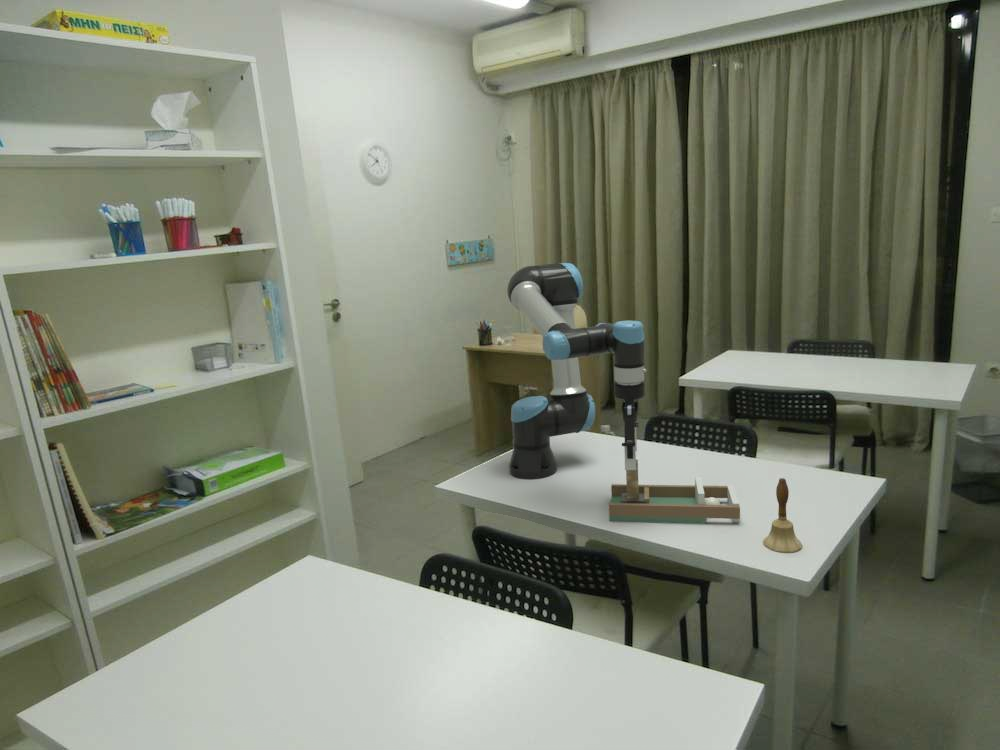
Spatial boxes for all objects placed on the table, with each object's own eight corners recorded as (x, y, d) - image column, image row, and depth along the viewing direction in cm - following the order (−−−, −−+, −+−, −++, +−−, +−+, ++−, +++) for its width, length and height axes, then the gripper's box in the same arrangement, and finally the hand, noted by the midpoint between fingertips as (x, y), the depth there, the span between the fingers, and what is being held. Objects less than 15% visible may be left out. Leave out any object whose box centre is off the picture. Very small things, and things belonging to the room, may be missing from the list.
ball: (701, 508, 168) (712, 497, 167) (700, 502, 172) (711, 491, 171) (713, 518, 168) (724, 508, 167) (711, 511, 172) (722, 501, 171)
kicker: (621, 510, 171) (619, 466, 169) (622, 497, 179) (620, 456, 176) (649, 510, 169) (648, 466, 167) (649, 498, 177) (648, 456, 175)
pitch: (609, 521, 169) (608, 493, 168) (612, 499, 183) (611, 474, 181) (739, 524, 162) (739, 496, 161) (732, 501, 175) (732, 475, 174)
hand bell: (760, 549, 149) (761, 483, 146) (765, 534, 156) (766, 471, 153) (800, 555, 145) (802, 488, 142) (803, 539, 152) (805, 474, 149)
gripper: (644, 394, 155) (645, 478, 159) (644, 370, 178) (645, 444, 183) (612, 394, 156) (614, 477, 161) (616, 370, 180) (618, 443, 185)
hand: (631, 460), depth 172 cm, fingers open, 13 cm apart
